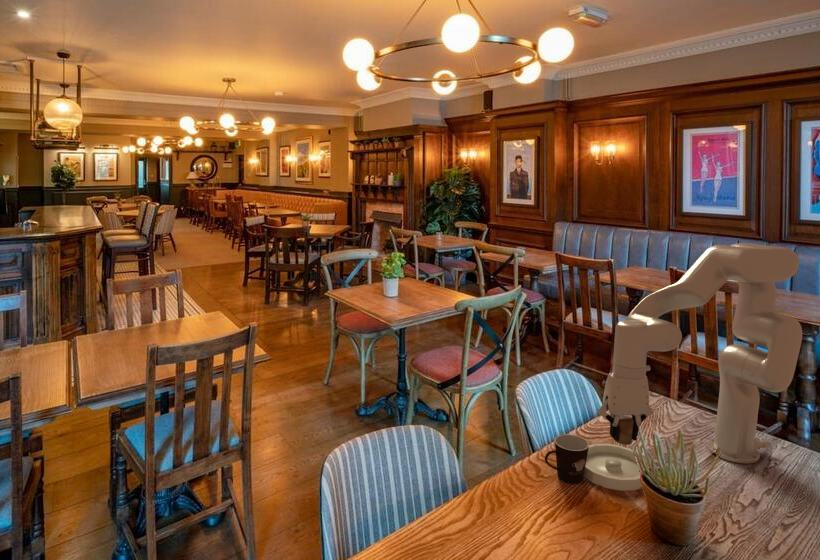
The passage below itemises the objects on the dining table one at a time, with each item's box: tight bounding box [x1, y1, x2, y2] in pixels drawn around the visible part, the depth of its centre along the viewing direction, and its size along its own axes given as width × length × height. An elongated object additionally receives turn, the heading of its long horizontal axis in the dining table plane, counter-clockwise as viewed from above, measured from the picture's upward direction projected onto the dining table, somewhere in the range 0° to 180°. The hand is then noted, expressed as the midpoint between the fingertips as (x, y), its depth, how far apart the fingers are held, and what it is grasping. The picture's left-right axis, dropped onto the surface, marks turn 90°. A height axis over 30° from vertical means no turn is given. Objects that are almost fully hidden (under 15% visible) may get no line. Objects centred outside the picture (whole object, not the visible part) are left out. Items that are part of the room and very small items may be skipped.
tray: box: [583, 443, 642, 492], centre depth 136 cm, size 18×18×3 cm
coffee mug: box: [544, 433, 590, 485], centre depth 133 cm, size 12×9×10 cm
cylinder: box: [615, 415, 634, 446], centre depth 129 cm, size 4×4×6 cm
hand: (623, 437), depth 129 cm, fingers closed on cylinder, 4 cm apart
